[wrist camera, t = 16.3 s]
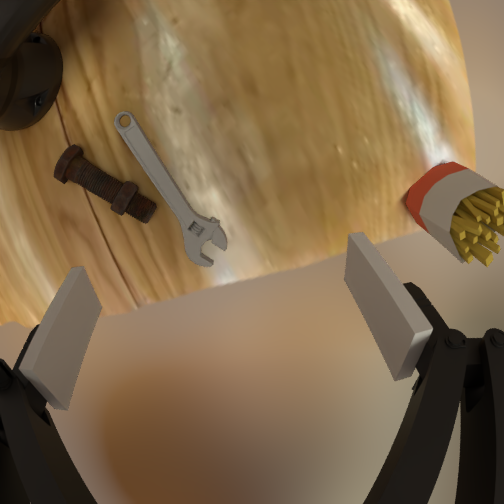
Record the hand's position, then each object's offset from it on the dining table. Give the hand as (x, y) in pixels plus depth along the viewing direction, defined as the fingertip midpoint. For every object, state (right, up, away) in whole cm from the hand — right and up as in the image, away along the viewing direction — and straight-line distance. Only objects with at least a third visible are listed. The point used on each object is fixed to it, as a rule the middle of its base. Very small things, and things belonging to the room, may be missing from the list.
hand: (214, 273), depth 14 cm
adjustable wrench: (-9, +10, +26) cm, 29 cm away
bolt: (-18, +11, +25) cm, 33 cm away
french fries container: (+29, +11, +28) cm, 42 cm away
